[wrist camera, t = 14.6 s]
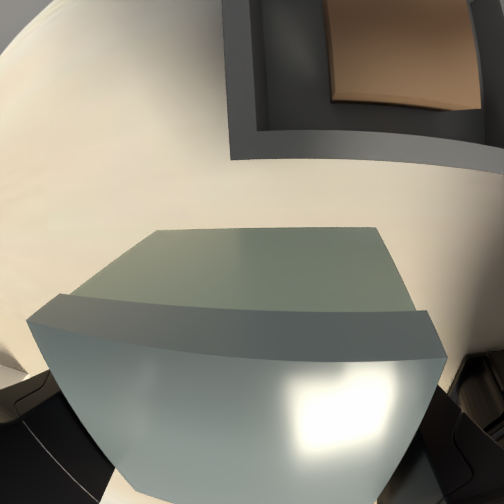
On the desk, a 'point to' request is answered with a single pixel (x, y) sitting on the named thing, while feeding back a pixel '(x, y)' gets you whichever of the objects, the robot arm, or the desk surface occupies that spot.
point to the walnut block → (401, 54)
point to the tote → (347, 115)
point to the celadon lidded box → (247, 364)
